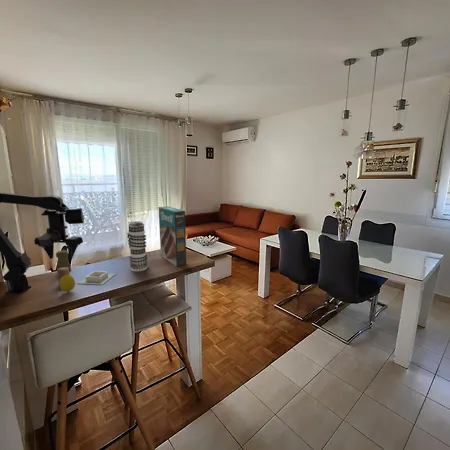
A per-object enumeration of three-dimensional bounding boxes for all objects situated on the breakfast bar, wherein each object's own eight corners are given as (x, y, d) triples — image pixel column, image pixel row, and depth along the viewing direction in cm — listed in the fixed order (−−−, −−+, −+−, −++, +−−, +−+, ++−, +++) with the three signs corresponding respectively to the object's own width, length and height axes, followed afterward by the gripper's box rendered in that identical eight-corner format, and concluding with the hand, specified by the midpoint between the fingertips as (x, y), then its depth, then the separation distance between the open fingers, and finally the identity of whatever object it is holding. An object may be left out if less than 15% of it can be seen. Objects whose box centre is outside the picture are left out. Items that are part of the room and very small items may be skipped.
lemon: (59, 292, 105) (56, 274, 103) (74, 288, 108) (71, 271, 107) (62, 296, 101) (59, 278, 99) (77, 292, 105) (75, 274, 103)
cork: (74, 269, 129) (71, 249, 126) (63, 274, 123) (61, 253, 121) (64, 268, 130) (62, 248, 128) (54, 273, 124) (51, 252, 122)
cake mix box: (160, 255, 152) (158, 207, 146) (170, 253, 155) (168, 206, 149) (176, 266, 135) (174, 211, 128) (186, 263, 138) (184, 210, 132)
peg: (56, 285, 111) (54, 270, 110) (63, 281, 115) (61, 267, 114) (65, 285, 111) (63, 271, 109) (72, 281, 115) (70, 267, 114)
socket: (77, 283, 113) (76, 278, 112) (93, 273, 124) (92, 268, 124) (102, 285, 112) (101, 279, 111) (116, 274, 123) (115, 269, 123)
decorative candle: (127, 267, 132) (124, 221, 127) (144, 263, 138) (141, 219, 133) (132, 273, 125) (129, 224, 120) (150, 268, 131) (148, 222, 125)
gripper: (20, 228, 100) (26, 264, 103) (63, 229, 98) (68, 266, 102) (42, 222, 111) (47, 256, 114) (81, 224, 109) (85, 257, 113)
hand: (61, 259), depth 110 cm, fingers open, 9 cm apart
